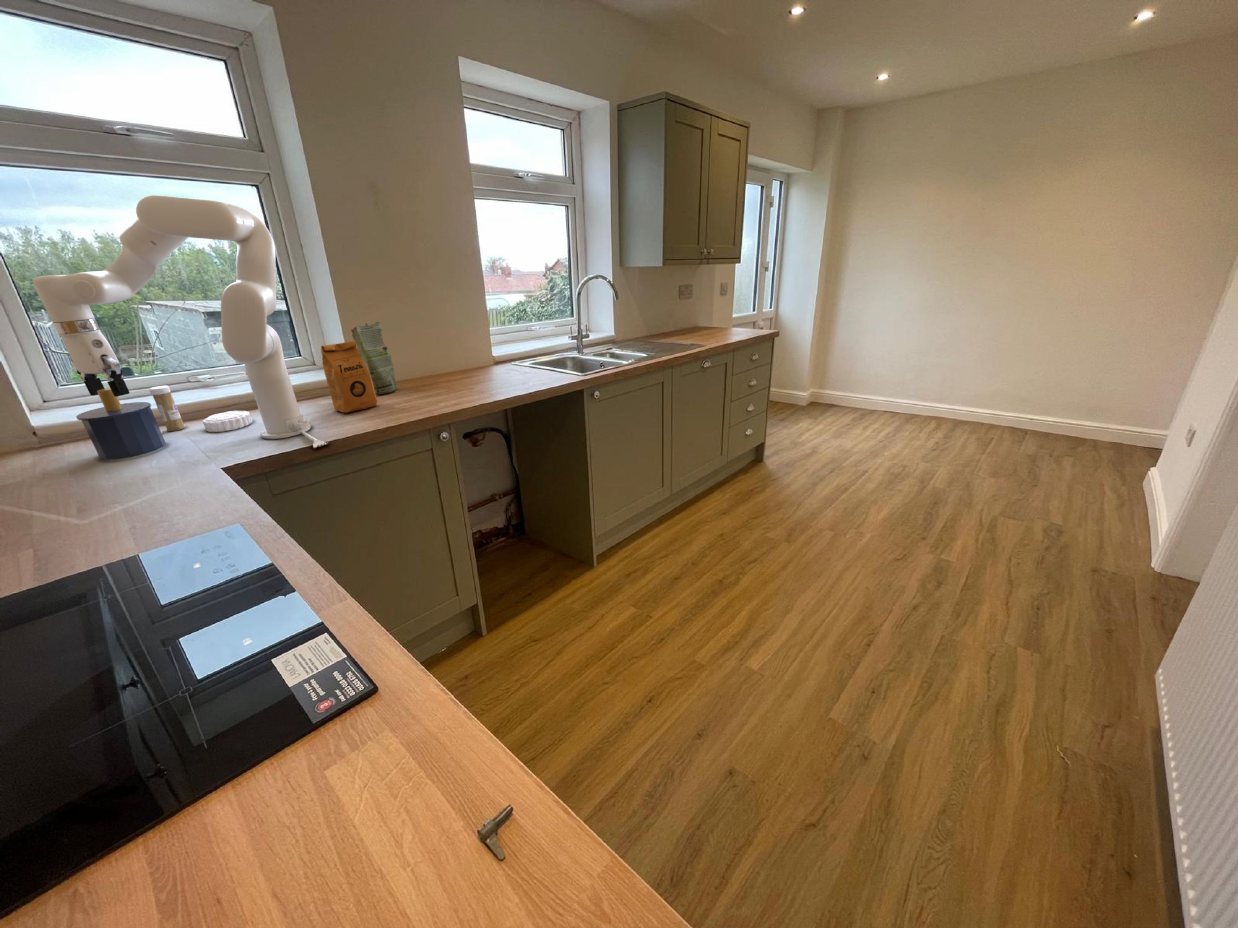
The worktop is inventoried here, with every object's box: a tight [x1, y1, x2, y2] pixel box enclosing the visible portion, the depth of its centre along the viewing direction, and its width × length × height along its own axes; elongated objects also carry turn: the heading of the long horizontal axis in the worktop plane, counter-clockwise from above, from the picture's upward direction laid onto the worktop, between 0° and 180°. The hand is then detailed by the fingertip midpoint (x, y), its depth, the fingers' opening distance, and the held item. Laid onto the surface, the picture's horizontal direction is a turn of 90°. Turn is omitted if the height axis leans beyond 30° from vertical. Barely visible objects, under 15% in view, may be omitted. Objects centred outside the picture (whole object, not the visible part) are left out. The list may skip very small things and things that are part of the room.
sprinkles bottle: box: [149, 385, 186, 432], centre depth 153 cm, size 5×5×14 cm
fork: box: [301, 431, 329, 449], centre depth 139 cm, size 3×20×2 cm, turn 45°
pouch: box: [350, 321, 398, 395], centre depth 183 cm, size 11×12×25 cm
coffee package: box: [320, 339, 378, 413], centre depth 163 cm, size 10×12×22 cm
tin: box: [80, 407, 167, 461], centre depth 135 cm, size 14×14×12 cm
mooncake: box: [202, 410, 253, 433], centre depth 155 cm, size 12×12×4 cm
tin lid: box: [75, 387, 152, 422], centre depth 132 cm, size 15×15×7 cm
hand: (110, 394), depth 131 cm, fingers open, 9 cm apart
